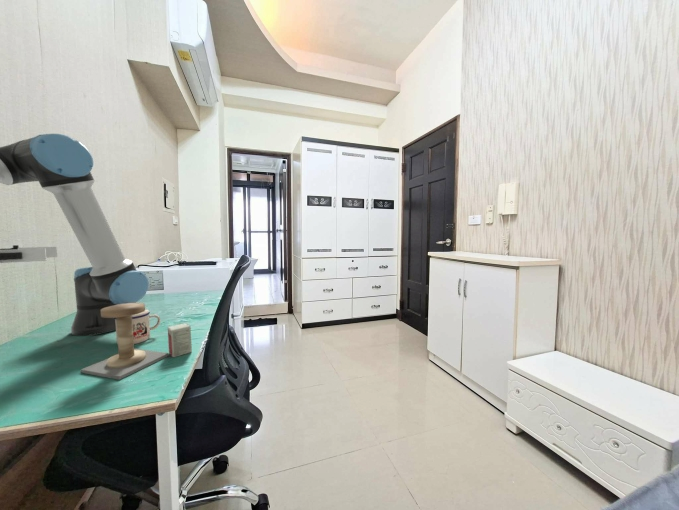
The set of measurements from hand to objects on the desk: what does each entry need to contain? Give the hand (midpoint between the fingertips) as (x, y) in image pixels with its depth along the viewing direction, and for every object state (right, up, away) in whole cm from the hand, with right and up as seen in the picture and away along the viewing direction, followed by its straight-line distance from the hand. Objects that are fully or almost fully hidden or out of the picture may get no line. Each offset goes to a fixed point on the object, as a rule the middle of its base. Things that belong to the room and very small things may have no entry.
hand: (51, 253), depth 65 cm
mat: (+14, -29, +6) cm, 33 cm away
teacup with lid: (+4, -28, +23) cm, 37 cm away
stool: (+14, -28, +6) cm, 32 cm away
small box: (+24, -29, +12) cm, 40 cm away
